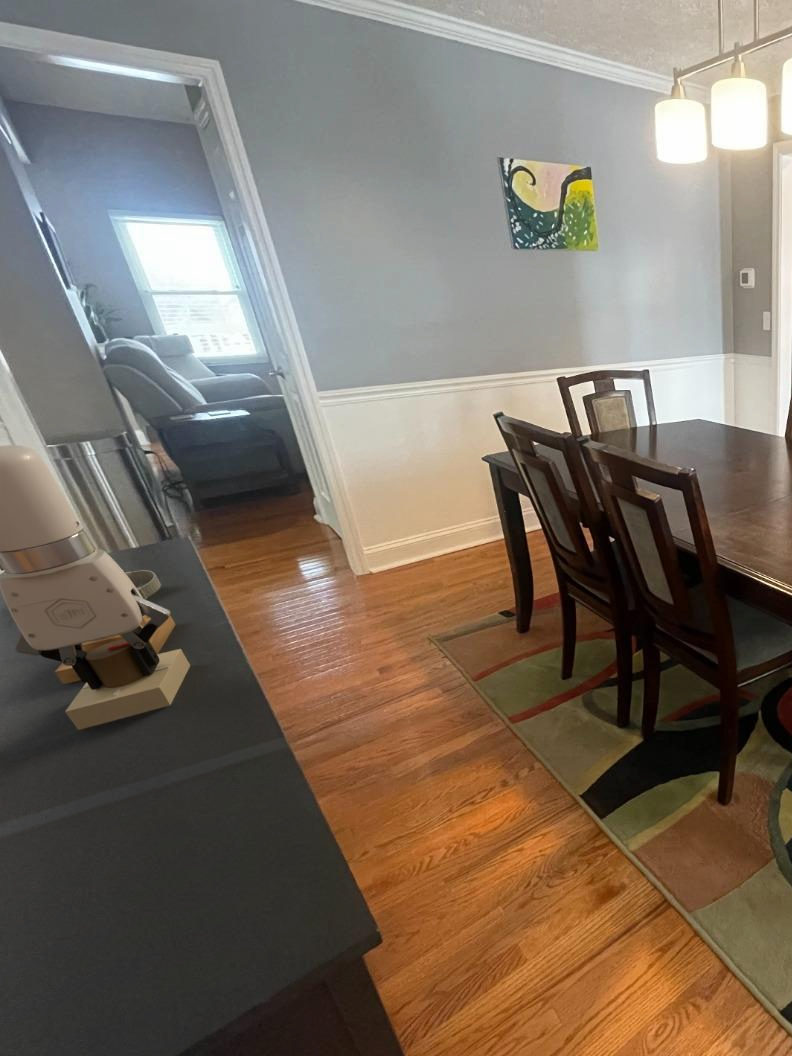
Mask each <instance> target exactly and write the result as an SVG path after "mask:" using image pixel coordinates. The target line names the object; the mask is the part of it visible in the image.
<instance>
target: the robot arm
mask: <svg viewBox="0 0 792 1056" xmlns="http://www.w3.org/2000/svg"><path fill="white" fill-rule="evenodd" d="M0 571H3V572H1V573H0V592H1V593H0V594H1V595H2V598H3V600H4V602H5V605H6V607H7V610H8V611H9V613H10V615H11V617H12V619H13V621H14V624H15V625H16V626H17V628H18V630H19V632H20V633H21V634H20V636H19V638H18V641H17V643H16V646H15V652H16V653H19V654H25V655H31V656H41V657H43V658H45V659H49V660H52V661H57V662H61V664H62V663H63V664H64V665H66V666H72V667H73V669H74V670H75V672H76V673H77V675H78V676H79V678H80V679H81V680H80V681H81V683H83V684H86V683H88V685H89V686H90V688H91V689H92V690H95V689H98V688H99V687H101V685H102V682H101V681H100V679H99V678H98V676H97V675H96V673H95V672H94V670H93V669H92V667H91V666H90V664H89V663H88V661H87V660H86V658H85V657H86V655H87V654H88V653H89V652H87V653H86V651H84V647H83V643H86V642H90V641H95V640H99V639H103V638H107V637H112V636H116V635H120V636H121V637H122V638H123V639H125V640H126V641H127V642H128V643H129V644H130V645H131V646H132V648H133V649H132V650H131V652H130V653H131V655H132V657H133V659H134V660H135V662H136V664H137V665H138V667H139V668H140V670H141V672H142V673H143V675H146V676H148V675H152V674H153V672H154V670H155V668H156V667H157V665H158V663H159V657H158V655H157V653H156V652H155V650H154V648H153V647H152V645H151V643H150V642H149V639H150V638H151V637H152V635H153V634H154V632H155V631H156V630H157V629H158V628H159V627H160V626H161V625H162V624H163V623H164V622H165V621H166V620H167V619H168V618H169V616H171V615H172V612H171V610H170V609H167V608H165V607H163V606H161V605H159V604H156V603H154V602H152V601H150V600H148V599H147V600H145V599H143V597H142V596H141V594H140V593H139V591H138V590H137V588H138V587H135V586H134V584H133V583H132V581H131V580H130V579H129V577H128V576H127V575H126V574H125V571H124V570H123V569H122V568H121V566H120V565H119V564H118V563H117V561H115V559H113V558H112V557H111V555H109V554H108V553H107V552H106V551H105V550H104V549H96V547H95V546H94V543H93V542H92V540H91V539H90V536H89V535H88V533H87V532H86V530H85V528H84V527H83V525H82V524H81V521H80V520H79V518H78V517H77V515H76V513H75V512H74V509H73V508H72V507H71V505H70V503H69V501H68V499H67V497H66V496H65V494H64V493H63V491H62V489H61V487H60V486H59V485H58V483H57V481H56V479H55V478H54V476H53V474H52V473H51V471H50V469H49V467H48V466H47V464H46V462H45V461H44V459H43V458H42V457H41V455H40V454H39V453H38V452H37V451H36V450H34V449H32V448H31V447H28V446H24V445H15V444H10V445H9V444H8V445H0ZM144 615H146V616H147V617H148V618H151V619H150V620H149V621H148V622H147V623H146V624H145V626H144V627H143V626H142V625H141V624H140V623H141V622H142V616H144Z"/></svg>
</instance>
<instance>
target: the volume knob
mask: <svg viewBox="0 0 792 1056" xmlns="http://www.w3.org/2000/svg"><path fill="white" fill-rule="evenodd" d="M132 649H133V648H132V646H131V645H130V644H129V643H128V642H127V641H126V640H119V641H114V642H111V643H107V644H104V645H102V646H99V647H97V648H95V649H93V650H92V651H90V652H89V653H88V654H87V655H86V657H85V658H86V660H87V661H88V663H89V664H90V666H91V667H92V669H93V670H94V672H95V673H96V675H97V676H98V678H99V679H100V681H101V682H102V684H103V685H104V687H107V688H115V687H120V686H124V685H127V684H130V683H132V682H135V681H137V680H139V679H140V678H142V677H143V676H145V675H143V673H142V672H141V670H140V668H139V667H138V665H137V664H136V662H135V660H134V659H133V657H132V655H131V653H130V652H131V650H132Z"/></svg>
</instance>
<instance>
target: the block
mask: <svg viewBox="0 0 792 1056" xmlns="http://www.w3.org/2000/svg"><path fill="white" fill-rule="evenodd" d="M150 619H151V618H150V617H148V616H147V615H144V616H142V622H141V623H140V624H141V625H142V626H143V627H144V626H145V624H146V623H147V622H148V621H149V620H150ZM176 625H177V624H176V622H175V621H174V618H173V617H172V616H171V615H170V616H169V618H168V619H167V620H166V621H165V622H164V623H163V624H162V625H161V626H160V627H159V628H158V629H157V630H156V631H155V632H154V634H153V635H152V637H151V638H150V639H149V642H150V643H151V645H152V647H153V648H154V650H155V652H156V653H157V654H160V651H161V650H162V648H163V646H164V644H165V643H166V641H167V640H168V638H169V637H170V635H171V634H172V632H173V630H174V628H175V626H176ZM119 640H125V639H123V638H122V637H121V636H120V635H116V636H112V637H107V638H103V639H99V640H95V641H90V642H86V643H83V647H84V651H86V653H87V652H90V651H92V650H93V649H95V648H97V647H99V646H102V645H104V644H107V643H111V642H114V641H119ZM54 673H55V675H56V676H57V678H58V679H59V681H60V682H61V683H62V684H63V685H67V684H70V683H75V682H78V681H79V682H80V681H81V679H80V678H79V676H78V675H77V673H76V672H75V670H74V669H73V667H72V666H66V665H64V664H63V663H62V662H61V663H60V665H59V666H58V667H57V669H55V671H54Z"/></svg>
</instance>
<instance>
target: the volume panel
mask: <svg viewBox="0 0 792 1056" xmlns="http://www.w3.org/2000/svg"><path fill="white" fill-rule="evenodd" d="M157 655H158V657H159V663H158V665H157V667H156V668H155V670H154V672H153V674H152V675H148V676H146V675H145V676H143V677H142V678H140V679H139V680H137V681H135V682H132V683H130V684H127V685H124V686H120V687H115V688H107V687H104V685H103V684H102V685H101V687H99V688H98V689H95V690H92V689H91V688H90V686H89V685H88V683H87V682H86V683H84V685H83V686H82V688H81V689H80V691H79V692H78V693H77V695H76V696H75V697H74V699H73V700H72V701H71V703H70V704H69V706H68V707H67V708H66V709H65V712H64V713H65V714H66V715H67V716H68V718H69V719H70V721H71V722H72V723H73V725H74V726H75V728H76V730H78V731H80V730H83V729H87V728H91V727H94V726H98V725H101V724H106V723H109V722H113V721H116V720H120V719H124V718H128V717H132V716H137V715H140V714H143V713H147V712H151V711H154V710H157V709H161V708H162V709H163V708H165V707H169V706H171V705H172V704H173V701H174V699H175V697H176V695H177V693H178V691H179V690H180V687H181V686H182V684H183V681H184V679H185V677H186V675H187V673H188V671H189V669H190V668H191V664H190V662H189V661H188V659H187V657H186V656H185V653H184V652H183V650H182V649H181V648H179V649H173V650H169V651H166V652H161V653H158V654H157Z"/></svg>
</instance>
